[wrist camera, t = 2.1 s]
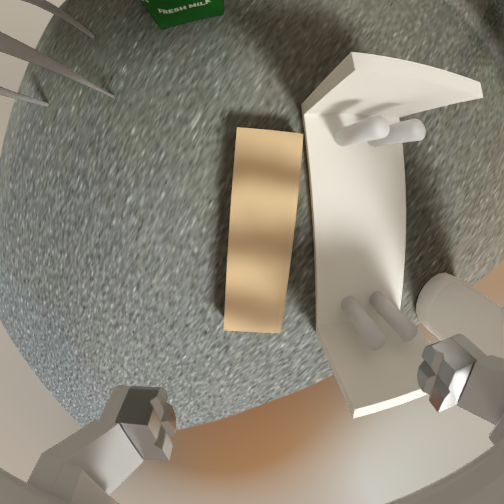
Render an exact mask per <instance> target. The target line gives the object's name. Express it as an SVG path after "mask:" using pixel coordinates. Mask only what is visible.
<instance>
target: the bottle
mask: <svg viewBox="0 0 504 504" xmlns="http://www.w3.org/2000/svg"><path fill="white" fill-rule="evenodd" d="M416 314H417V317H418V319H419V320H420V321H421V322H422V324H423V325H424V326H425V327H426V328H427V329H428V330H429V331H430V332H431V333H433V334H434V335H436V336H437V337H438V338H439V339H440V340H441V341H442V340H444V339H448V338H449V337H452V336H454V335H457V334H462V335H464V336H465V337H466V338H468V339H469V340H470V341H471V342H472V343H473V344H474V345H476V346H477V347H478V348H479V349H480V350H481V351H482V352H484V353H485V354H486V355H487V356H489V355H493V356H496V357H500V358H504V307H502V306H501V305H499V304H498V303H496V302H495V301H493V300H492V299H490V298H488V297H487V296H485V295H484V294H482V293H481V292H479V291H477V290H476V289H474V288H473V287H471V286H469V285H468V284H466V283H465V282H464V281H463V280H461V279H459V278H457V277H455V276H453V275H451V274H448V273H446V272H445V273H439V274H437V275H435V276H434V277H432V278H431V279H430V280H429V281H428V282H427V283H426V284H425V285H424V287H423V288H422V290H421V292H420V293H419V296H418V299H417V303H416Z"/></svg>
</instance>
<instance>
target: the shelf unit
mask: <svg viewBox="0 0 504 504" xmlns="http://www.w3.org/2000/svg"><path fill="white" fill-rule="evenodd" d="M478 98H483V94H482V89H481V85H480V82H477V81H475V80H472V79H469V78H466V77H463V76H461V75H458V74H455V73H451V72H448V71H445V70H442V69H438V68H435V67H431V66H427V65H423V64H419V63H415V62H410V61H406V60H401V59H396V58H391V57H385V56H379V55H373V54H365V53H358V52H351V53H350V54H349V55H348V56H347V57H346V58H345V59H344V60H343V61H342V62H341V63H340V64H339V65H338V66H337V67H336V68H335V69H334V70H333V71H332V72H331V73H330V74H329V75H328V76H327V77H326V78H325V79H324V80H323V81H322V83H321V84H320V85H319V86H318V87H317V88H316V89H315V90H314V91H313V92H312V93H311V94H310V95H309V97H308V98H307V99H306V100H305V101H304V102H303V103H302V104H301V110H302V118H303V126H304V134H305V143H306V152H307V162H308V173H309V184H310V196H311V209H312V224H313V241H314V263H315V297H316V334H317V336H318V338H319V341H320V343H321V345H322V348H323V350H324V352H325V354H326V357H327V359H328V361H329V364H330V366H331V368H332V370H333V373H334V375H335V377H336V379H337V382H338V384H339V387H340V389H341V391H342V394H343V396H344V398H345V400H346V403H347V406H348V408H349V410H350V412H351V415H352V417H353V418H356V417H360V416H364V415H367V414H371V413H374V412H378V411H381V410H384V409H387V408H391V407H394V406H397V405H400V404H402V403H405V402H408V401H411V400H414V399H416V398H419V397H422V396H424V395H427V393H424V392H423V391H422V390H421V388H420V387H419V384H418V381H417V372H418V368H419V366H420V365H421V363H422V362H423V361H424V360H423V358H422V353H423V350H424V348H425V347H426V346H428V345H431V344H432V343H431V342H430V341H429V340H428V339H427V338H426V337H425V336H424V335H423V334H422V333H421V332H420V331H419V330H418V329H417V327H416V326H415V325H414V324H413V323H412V322H411V321H410V320H409V319H408V318H407V317H406V316H405V315H404V314H403V313H402V312H401V311H400V305H401V297H402V287H403V276H404V263H405V243H406V188H405V169H404V156H403V145H402V143H404V142H412V141H420V140H422V139H423V138H424V137H425V133H426V131H425V127H424V125H423V123H422V122H421V121H420V120H418V119H411V120H407V121H403V122H400V120H399V118H400V117H403V116H407V115H410V114H414V113H418V112H422V111H426V110H429V109H433V108H437V107H442V106H446V105H450V104H455V103H459V102H464V101H468V100H473V99H478Z"/></svg>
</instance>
